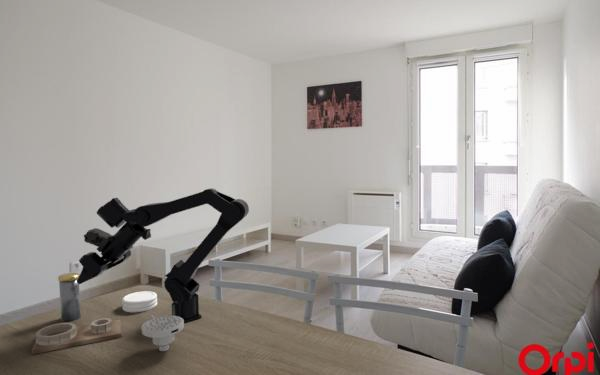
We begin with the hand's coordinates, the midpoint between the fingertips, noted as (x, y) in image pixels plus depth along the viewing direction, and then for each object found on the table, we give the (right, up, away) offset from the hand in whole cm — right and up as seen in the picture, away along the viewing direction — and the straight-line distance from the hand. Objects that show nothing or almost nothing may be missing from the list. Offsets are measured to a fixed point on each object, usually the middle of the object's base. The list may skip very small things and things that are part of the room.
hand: (87, 277), depth 112 cm
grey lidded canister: (-5, -12, +1) cm, 13 cm away
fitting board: (+4, -12, -12) cm, 18 cm away
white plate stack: (+11, -11, +9) cm, 18 cm away
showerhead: (+28, -13, -18) cm, 36 cm away
